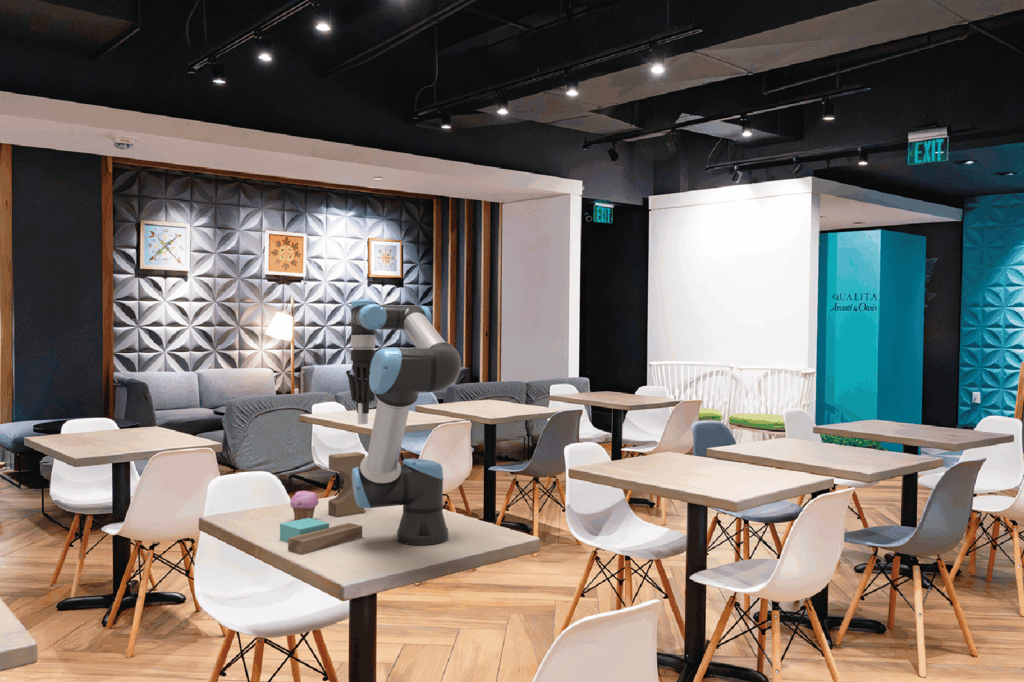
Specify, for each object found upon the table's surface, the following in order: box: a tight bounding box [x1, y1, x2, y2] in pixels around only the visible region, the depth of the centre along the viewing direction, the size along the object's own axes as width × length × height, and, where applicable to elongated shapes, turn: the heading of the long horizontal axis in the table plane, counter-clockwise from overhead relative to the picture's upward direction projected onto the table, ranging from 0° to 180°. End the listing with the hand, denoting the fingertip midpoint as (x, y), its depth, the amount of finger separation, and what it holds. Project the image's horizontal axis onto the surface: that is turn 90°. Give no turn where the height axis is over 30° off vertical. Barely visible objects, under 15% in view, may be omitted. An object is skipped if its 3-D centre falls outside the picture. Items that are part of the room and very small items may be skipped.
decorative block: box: [327, 451, 366, 518], centre depth 255 cm, size 11×6×20 cm, turn 128°
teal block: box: [279, 518, 330, 543], centre depth 222 cm, size 10×10×5 cm
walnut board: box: [287, 522, 363, 555], centre depth 217 cm, size 6×22×4 cm, turn 144°
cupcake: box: [289, 490, 320, 521], centre depth 243 cm, size 9×9×10 cm
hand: (362, 423), depth 238 cm, fingers closed
